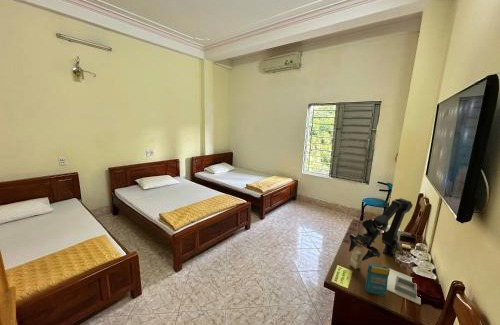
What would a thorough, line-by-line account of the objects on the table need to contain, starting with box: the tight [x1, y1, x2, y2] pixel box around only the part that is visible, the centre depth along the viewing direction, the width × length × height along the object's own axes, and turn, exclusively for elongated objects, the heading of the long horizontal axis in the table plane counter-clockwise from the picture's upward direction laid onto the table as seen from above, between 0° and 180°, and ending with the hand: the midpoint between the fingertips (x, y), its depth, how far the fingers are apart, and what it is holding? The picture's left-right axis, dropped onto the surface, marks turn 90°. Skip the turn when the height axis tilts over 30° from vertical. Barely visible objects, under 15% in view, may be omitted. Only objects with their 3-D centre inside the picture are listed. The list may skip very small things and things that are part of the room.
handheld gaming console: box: [364, 263, 391, 297], centre depth 109 cm, size 10×4×15 cm, turn 76°
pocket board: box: [386, 268, 422, 305], centre depth 116 cm, size 20×15×3 cm
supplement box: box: [385, 224, 402, 244], centre depth 155 cm, size 7×7×13 cm
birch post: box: [349, 249, 363, 270], centre depth 129 cm, size 4×4×10 cm
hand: (355, 255), depth 128 cm, fingers open, 9 cm apart
